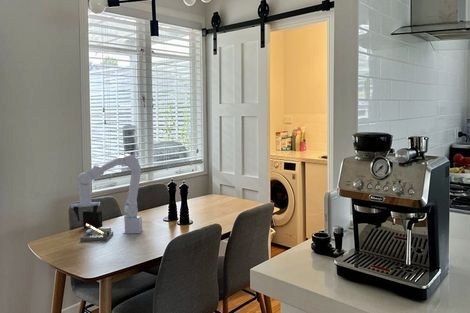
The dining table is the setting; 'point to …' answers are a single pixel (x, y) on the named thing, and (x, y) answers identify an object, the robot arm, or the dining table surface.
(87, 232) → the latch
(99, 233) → the strap
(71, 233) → the dining table surface
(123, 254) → the dining table surface
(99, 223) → the electronic device
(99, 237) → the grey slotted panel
